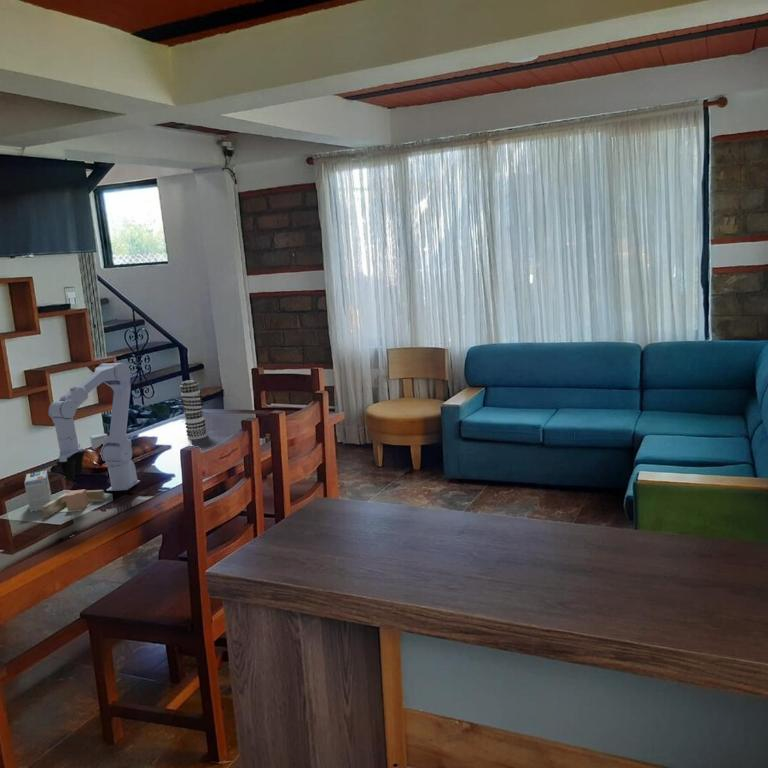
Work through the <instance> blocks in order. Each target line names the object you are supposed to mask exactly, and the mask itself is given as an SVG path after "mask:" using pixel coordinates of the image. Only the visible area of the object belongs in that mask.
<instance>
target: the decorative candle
mask: <svg viewBox="0 0 768 768" xmlns="http://www.w3.org/2000/svg"><path fill="white" fill-rule="evenodd" d="M199 384H200V383H199V382H197V381H196V380H195V379H189V380H184V381H182V382H181V384H180V385H179V387H180V391H181V392H180V394H181V398H180V401H181V402H180V403H181V406H182V407H181V408H182V412H183V413H184V417H185V419H184V421H185V422H184V425H185V429H186V430H185V432H186V436H187V439H188V440H199V439H200V440H201V439H203V438H206V437H207V436H208V434H207V433H208V431H207V427H206V419H205V417H204V413H203V411H204V407H202V406H203V405H204V403H202V402H203V399H201V398H203V395H202V391H201V390H200V387H199Z"/></svg>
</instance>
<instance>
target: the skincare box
mask: <svg viewBox="0 0 768 768" xmlns="http://www.w3.org/2000/svg"><path fill="white" fill-rule="evenodd" d="M89 436H90V437H89V438H90V444H91V449H92V448H93V449H95V448H97V447H99V446H100V445H101V444H104V440H105V439H106V438H107V437H108V436H109V435H108V434H107V433H100V434H99V433H98V434H95V435H89Z"/></svg>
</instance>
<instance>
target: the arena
mask: <svg viewBox="0 0 768 768" xmlns="http://www.w3.org/2000/svg"><path fill="white" fill-rule="evenodd" d="M70 491H71V490H69V491H66V492H64V493H63V494H61V495H60V496H57V497H56V498H54V499H52V501H51V502H49V503H47V504H46V505H44V506H42V507H41V508H42V510H41V511H42V513H41V514H42V517H43V518H49V517H50V516H52V515H54V514H56V513H57V512H58V513H69V512H70V513H73V511H74V512H75V511H79V512H82V511H83V510H85V509H87V508H88V507H91V505H93V504H94V503H95V502H104V501H106V495H105V490H104V489H93V490H92V489H91V490H89V489H88V490H86V493H87V498H88V504H87V505H86V506H85V507H84V508H83V509H76V510H68V509H67V504H66V498H65V495H67V494H68V493H69V492H70ZM55 512H56V513H55ZM75 513H76V512H75Z"/></svg>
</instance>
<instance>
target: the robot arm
mask: <svg viewBox="0 0 768 768" xmlns="http://www.w3.org/2000/svg"><path fill="white" fill-rule="evenodd" d="M131 373H132V371H131V369H130V367H129V366H128V364H126V363H125V362H118V363H117V362H116V363H115V362H113V363H111V362H110V363H107V362H106V363H105V362H103V363H100V364H99V365H98V366H97V367H95V368H94V372H92V373H91V375H90V376H89V377H88V378H86V380H84V382H83V383H82V384H80V385H79V386H78V385H75V386H71V387H70V388H69V391H68V392H66V393H65V394H64V395H61V396H60V398H59V400H54V401H52V402H51V404H50V405H49V406H48V411H47V414H48V416H49V417H50V418H51V420H52V422H53V424H54V427H55V432H56V437H57V443H58V447H59V455H58V460H57V461H56V465H57V466H58V468H60V470H61V471H62V473H63V475H64V477H65V479H66V481H67V482H71V481H75V477H76V476H75V475H77V474H82V473H83V460H84V455H85V454H86V453H85V449H84V448H83V447H81V444H80V443H79V442H78V437H77V432H76V428H75V427H76V426H75V422H74V421H75V420H74V416H76V415H75V414H76V411H77V409H78V408H80V406H81V405H82V404H83V403H85V402H86V401H87V400H88V398H89V393H91V392H92V391H93V390H95V389H96V388H97V387H98V386H100V385H101V384H103V383H104V384H105V385H107V386H108V387H109V388H111V389H112V391H113V396H112V408H111V416H110V417H111V418H110V427H109V435H108V437H107V438H106V439H105V440H104V444H103V447H102V449H101V452H100V455H101V458H102V460H103V461H105V462H106V465H105V466H107V471H108V474H109V475H108V476H109V481H110V486H109V488H107V489H106V492H110V491H111V492H112V491H114V492H115V491H116V492H117V491H128V490H130V489H131V488H132V487H134V486H136V485H137V484H139V483H140V482H141V479H138V475H137V470H136V469H137V468H136V465H135V462H134V461H132V460H131V459H132V457H133V449H132V441H131V440H130V439H129V438H128V437H127V431H128V421H129V420H128V418H129V411H130V410H129V409H130V408H129V407H130V399H131V391H132V389H131V388H132V386H131V385H132V384H131Z"/></svg>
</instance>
